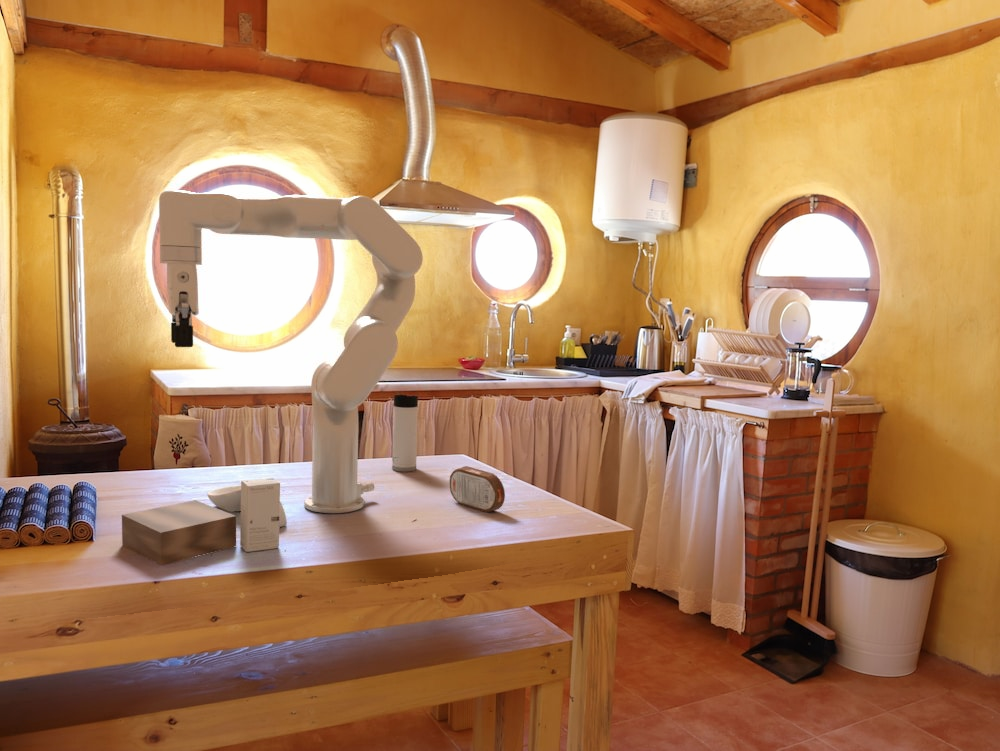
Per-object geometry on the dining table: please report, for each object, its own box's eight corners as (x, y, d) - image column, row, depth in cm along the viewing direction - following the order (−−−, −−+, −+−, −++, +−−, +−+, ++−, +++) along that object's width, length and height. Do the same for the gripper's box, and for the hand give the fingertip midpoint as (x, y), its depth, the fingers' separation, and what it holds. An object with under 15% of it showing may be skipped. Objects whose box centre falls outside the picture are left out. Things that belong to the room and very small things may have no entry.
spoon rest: (198, 506, 168) (198, 473, 167) (250, 497, 176) (250, 466, 175) (249, 535, 151) (249, 498, 150) (304, 524, 159) (305, 489, 158)
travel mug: (388, 471, 204) (390, 394, 202) (396, 465, 210) (397, 390, 208) (412, 473, 203) (414, 395, 201) (418, 467, 209) (420, 392, 207)
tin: (505, 513, 171) (506, 475, 170) (495, 516, 168) (496, 477, 167) (456, 499, 181) (457, 462, 180) (446, 501, 178) (447, 464, 177)
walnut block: (195, 530, 153) (195, 500, 152) (236, 548, 144) (236, 515, 143) (122, 547, 142) (121, 514, 141) (161, 567, 133) (160, 532, 132)
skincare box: (246, 553, 140) (246, 486, 139) (239, 545, 144) (239, 480, 143) (280, 548, 144) (281, 482, 142) (272, 540, 147) (273, 476, 146)
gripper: (206, 256, 148) (207, 348, 150) (197, 258, 163) (198, 341, 165) (162, 255, 144) (163, 348, 146) (157, 256, 160) (158, 341, 162)
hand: (181, 344), depth 156 cm, fingers open, 9 cm apart
